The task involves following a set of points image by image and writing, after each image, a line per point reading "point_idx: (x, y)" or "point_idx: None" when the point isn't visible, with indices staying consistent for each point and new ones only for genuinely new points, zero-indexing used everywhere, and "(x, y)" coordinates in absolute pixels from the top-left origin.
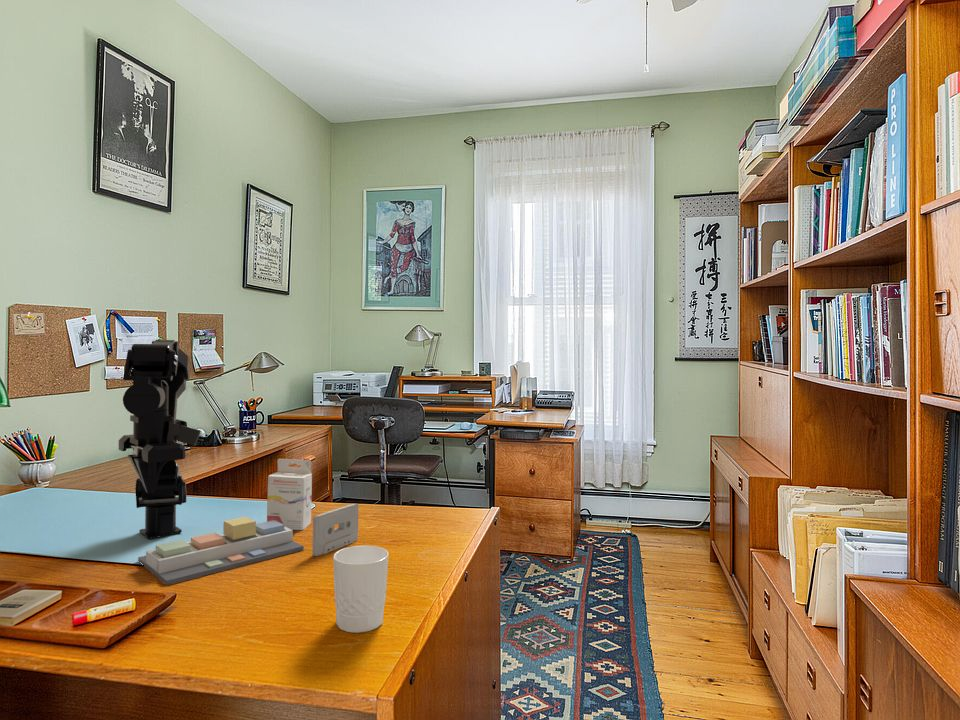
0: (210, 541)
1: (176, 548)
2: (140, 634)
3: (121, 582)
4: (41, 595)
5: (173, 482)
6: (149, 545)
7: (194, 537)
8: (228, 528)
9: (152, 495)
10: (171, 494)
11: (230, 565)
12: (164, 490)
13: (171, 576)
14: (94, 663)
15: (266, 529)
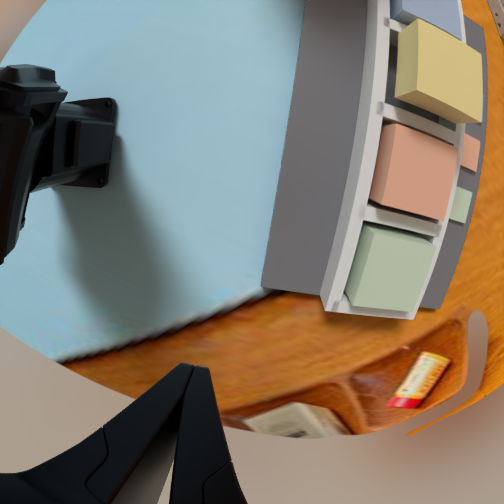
0: (450, 190)
1: (423, 283)
2: (487, 368)
3: (351, 346)
4: (290, 417)
5: (3, 134)
6: (152, 204)
7: (389, 196)
8: (444, 109)
9: (21, 209)
10: (42, 137)
11: (477, 183)
12: (21, 171)
13: (432, 294)
14: (480, 399)
15: (460, 33)
